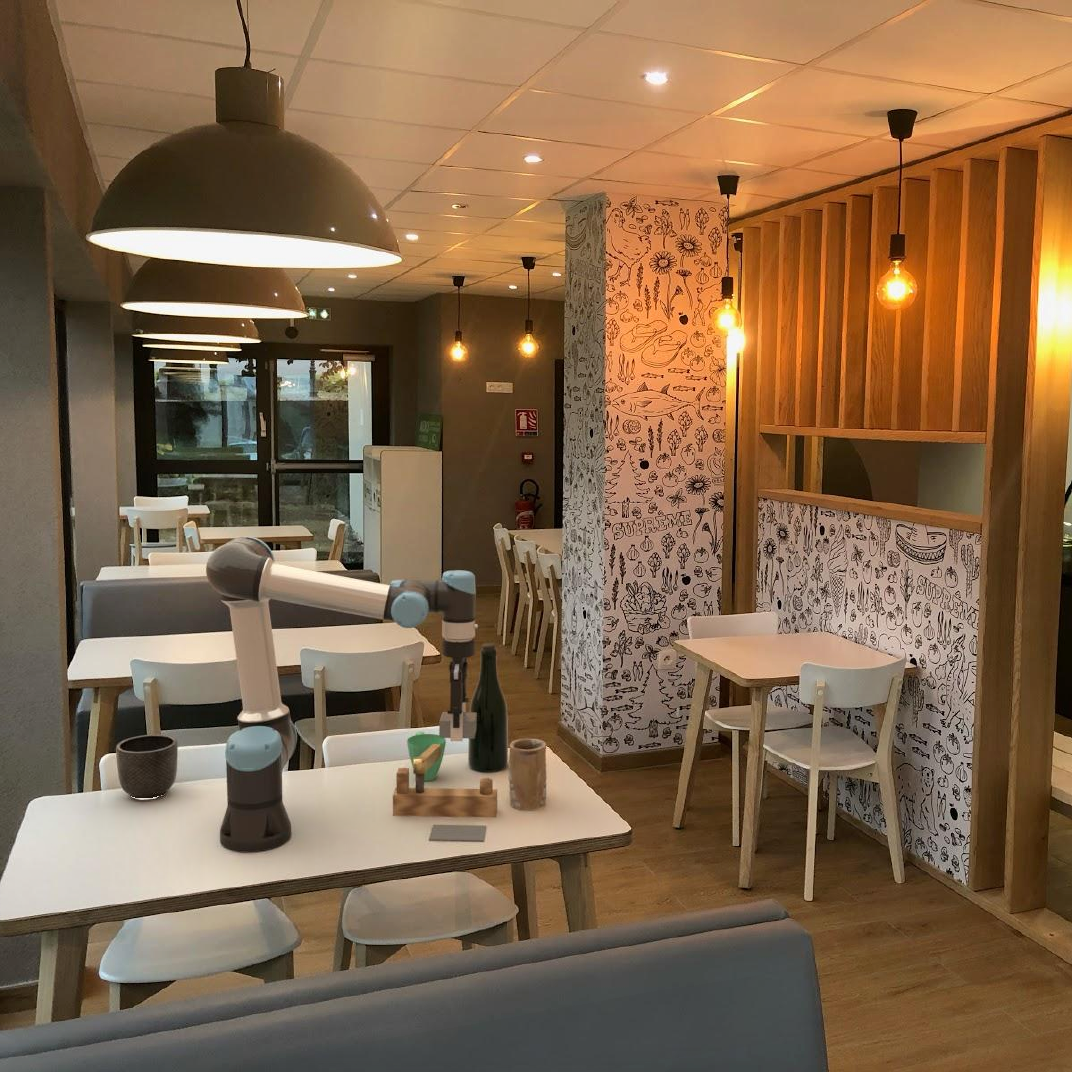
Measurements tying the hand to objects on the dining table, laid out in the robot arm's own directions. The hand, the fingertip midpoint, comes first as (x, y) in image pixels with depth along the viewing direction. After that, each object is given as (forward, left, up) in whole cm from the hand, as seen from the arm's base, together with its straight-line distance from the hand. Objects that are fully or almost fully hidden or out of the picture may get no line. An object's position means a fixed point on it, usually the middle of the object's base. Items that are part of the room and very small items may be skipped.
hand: (458, 735), depth 240 cm
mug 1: (-11, +25, -19) cm, 33 cm away
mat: (+1, -12, -19) cm, 22 cm away
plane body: (-3, 0, -19) cm, 19 cm away
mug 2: (+15, +8, -19) cm, 26 cm away
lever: (-8, +5, -9) cm, 13 cm away
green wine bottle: (+5, +32, -19) cm, 38 cm away
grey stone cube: (0, 0, 0) cm, 0 cm away
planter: (-76, +8, -19) cm, 79 cm away
